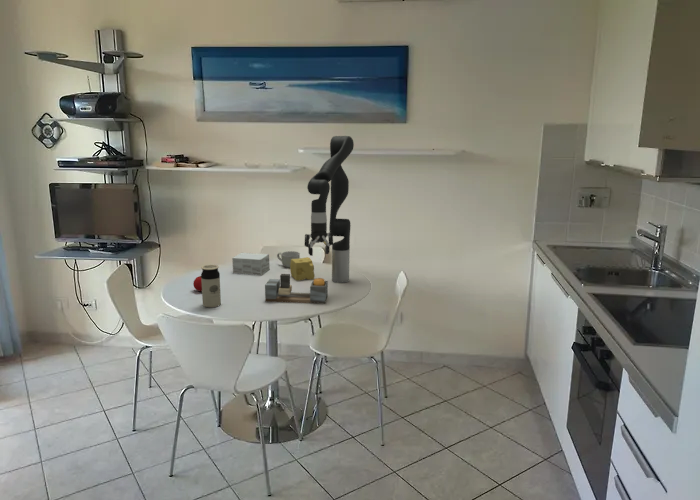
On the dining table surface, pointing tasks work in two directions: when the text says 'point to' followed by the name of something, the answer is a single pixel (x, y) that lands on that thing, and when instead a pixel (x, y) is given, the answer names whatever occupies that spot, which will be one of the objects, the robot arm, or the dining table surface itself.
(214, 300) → the travel mug
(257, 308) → the dining table surface
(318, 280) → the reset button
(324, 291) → the stand
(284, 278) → the carriage
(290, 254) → the teacup
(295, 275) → the cheese
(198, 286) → the tomato
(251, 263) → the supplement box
